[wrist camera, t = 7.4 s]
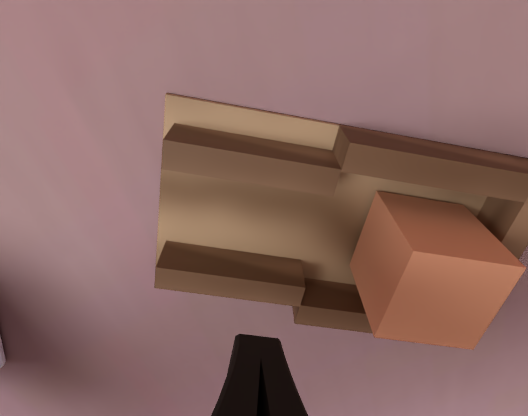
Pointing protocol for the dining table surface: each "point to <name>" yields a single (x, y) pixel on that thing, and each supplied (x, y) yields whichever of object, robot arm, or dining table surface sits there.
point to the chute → (304, 203)
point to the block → (430, 271)
